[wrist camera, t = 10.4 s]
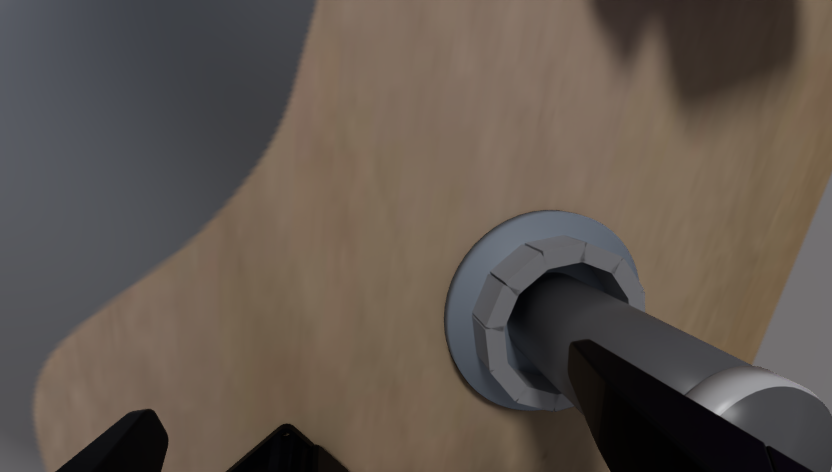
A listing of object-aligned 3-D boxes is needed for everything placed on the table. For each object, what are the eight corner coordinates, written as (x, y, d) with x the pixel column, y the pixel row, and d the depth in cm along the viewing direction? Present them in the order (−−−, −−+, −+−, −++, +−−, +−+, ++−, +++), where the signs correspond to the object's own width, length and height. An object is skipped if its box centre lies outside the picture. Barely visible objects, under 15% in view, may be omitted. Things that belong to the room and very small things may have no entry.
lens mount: (518, 436, 26) (542, 471, 23) (401, 304, 22) (412, 326, 19) (659, 313, 26) (699, 333, 23) (565, 166, 23) (600, 168, 20)
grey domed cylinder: (579, 361, 24) (805, 545, 13) (496, 357, 23) (665, 557, 12) (600, 275, 24) (862, 390, 12) (515, 265, 22) (718, 383, 11)
